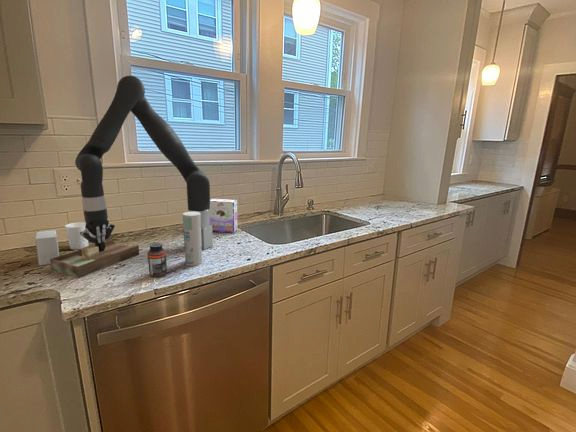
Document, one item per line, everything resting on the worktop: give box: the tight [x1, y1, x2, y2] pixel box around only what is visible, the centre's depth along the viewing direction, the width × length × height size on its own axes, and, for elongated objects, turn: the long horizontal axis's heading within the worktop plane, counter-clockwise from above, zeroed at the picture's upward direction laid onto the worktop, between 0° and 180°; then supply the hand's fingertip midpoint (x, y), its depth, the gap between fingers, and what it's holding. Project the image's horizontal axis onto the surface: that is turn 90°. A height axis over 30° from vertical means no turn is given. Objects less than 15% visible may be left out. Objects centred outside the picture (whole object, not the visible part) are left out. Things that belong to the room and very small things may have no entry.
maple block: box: [80, 244, 100, 260], centre depth 119 cm, size 4×4×4 cm
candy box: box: [210, 198, 238, 234], centre depth 164 cm, size 14×6×16 cm, turn 80°
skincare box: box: [34, 229, 60, 266], centre depth 121 cm, size 10×6×10 cm, turn 35°
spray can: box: [182, 211, 203, 267], centre depth 121 cm, size 6×6×20 cm
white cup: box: [64, 221, 90, 251], centre depth 135 cm, size 8×8×10 cm
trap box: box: [50, 239, 140, 279], centre depth 122 cm, size 15×25×4 cm, turn 155°
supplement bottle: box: [147, 242, 168, 278], centre depth 112 cm, size 6×6×11 cm
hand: (101, 251), depth 123 cm, fingers closed
